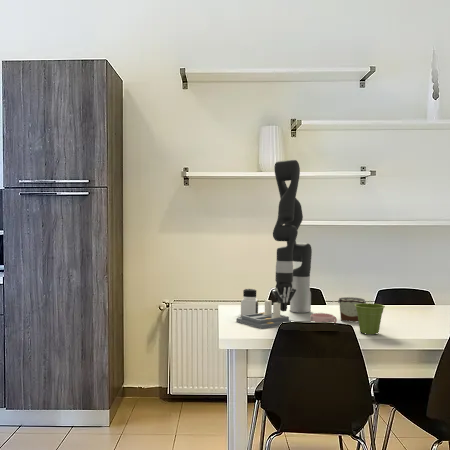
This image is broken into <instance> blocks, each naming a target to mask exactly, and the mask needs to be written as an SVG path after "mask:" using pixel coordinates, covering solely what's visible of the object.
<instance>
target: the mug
mask: <svg viewBox="0 0 450 450" xmlns="http://www.w3.org/2000/svg"><path fill="white" fill-rule="evenodd" d="M309 318H310V319H309V322H310V321H315V322H334V323H336V324H337V323H338V319H337V317H336V316H334V315H333V314H332V313H323V312H318V313H316V312H315V313H311V314H310V317H309Z"/></svg>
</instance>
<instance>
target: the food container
mask: <svg viewBox="0 0 450 450" xmlns="http://www.w3.org/2000/svg"><path fill="white" fill-rule="evenodd" d="M337 303H338V304H339V314H340V321H341V322H349V321H358V314H357V311H356V306H355V304H362V303H367V301H366V299H365V298H362V297H350V296H348V297H339V299H338V300H337Z"/></svg>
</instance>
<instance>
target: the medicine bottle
mask: <svg viewBox="0 0 450 450" xmlns="http://www.w3.org/2000/svg"><path fill="white" fill-rule="evenodd" d="M242 291H243V296H242V299H241V300H240V316H241V315H249V314H257V313H259V298H257V290H256V289H255V288H245V289H243V290H242Z"/></svg>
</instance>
